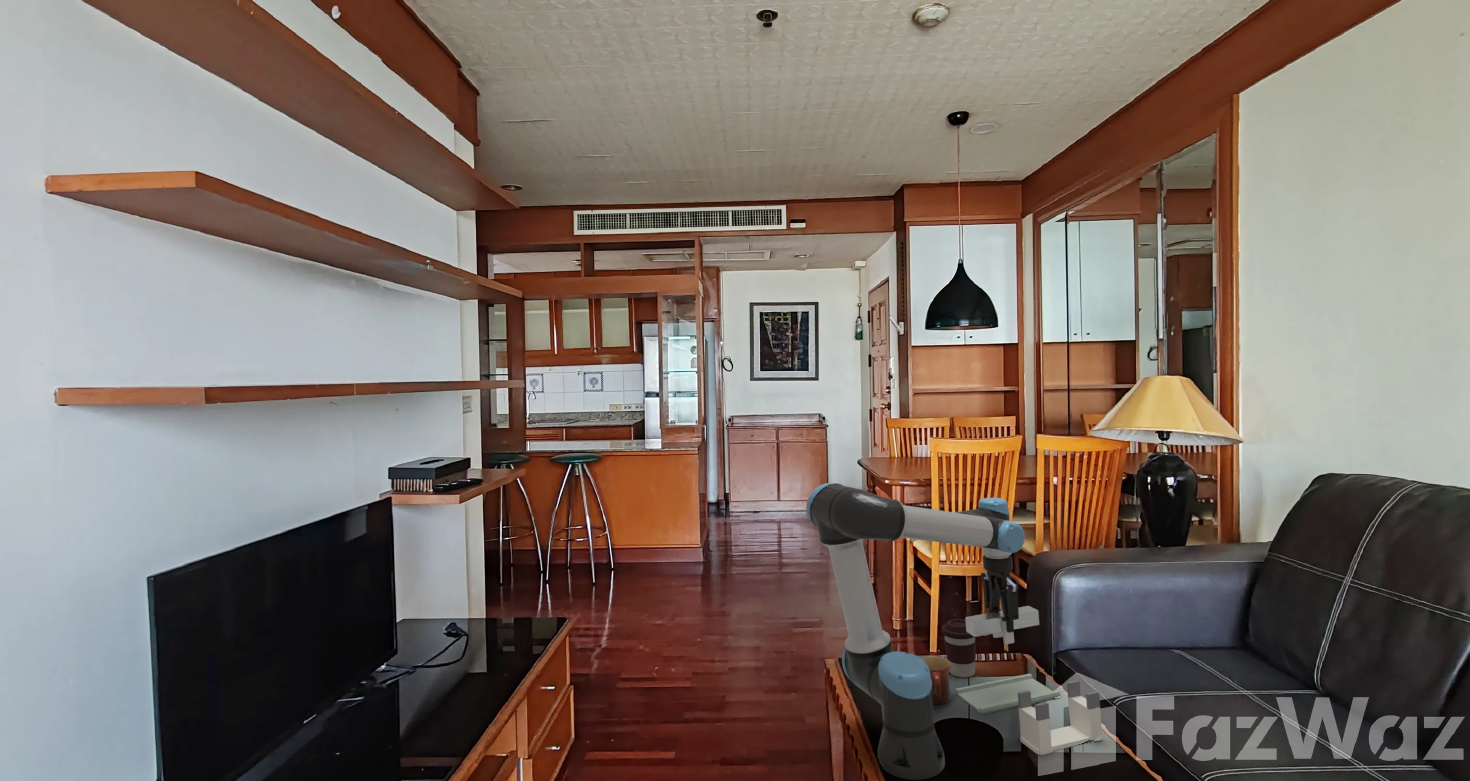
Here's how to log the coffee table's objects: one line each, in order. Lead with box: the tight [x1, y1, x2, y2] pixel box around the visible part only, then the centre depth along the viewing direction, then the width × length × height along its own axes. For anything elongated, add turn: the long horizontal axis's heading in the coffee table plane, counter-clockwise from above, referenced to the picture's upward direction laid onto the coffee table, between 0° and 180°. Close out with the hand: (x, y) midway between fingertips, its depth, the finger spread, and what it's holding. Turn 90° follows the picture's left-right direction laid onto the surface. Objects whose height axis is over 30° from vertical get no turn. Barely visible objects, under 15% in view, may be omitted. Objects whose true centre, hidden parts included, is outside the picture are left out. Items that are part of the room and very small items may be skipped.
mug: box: [920, 655, 951, 706], centre depth 179 cm, size 12×9×10 cm
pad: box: [955, 673, 1061, 715], centre depth 180 cm, size 24×12×2 cm, turn 104°
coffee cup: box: [941, 618, 977, 678], centre depth 196 cm, size 10×10×15 cm
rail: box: [964, 605, 1040, 638], centre depth 180 cm, size 20×4×4 cm, turn 104°
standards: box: [1018, 679, 1103, 756], centre depth 157 cm, size 18×7×12 cm, turn 104°
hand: (1003, 639), depth 180 cm, fingers closed on rail, 4 cm apart
